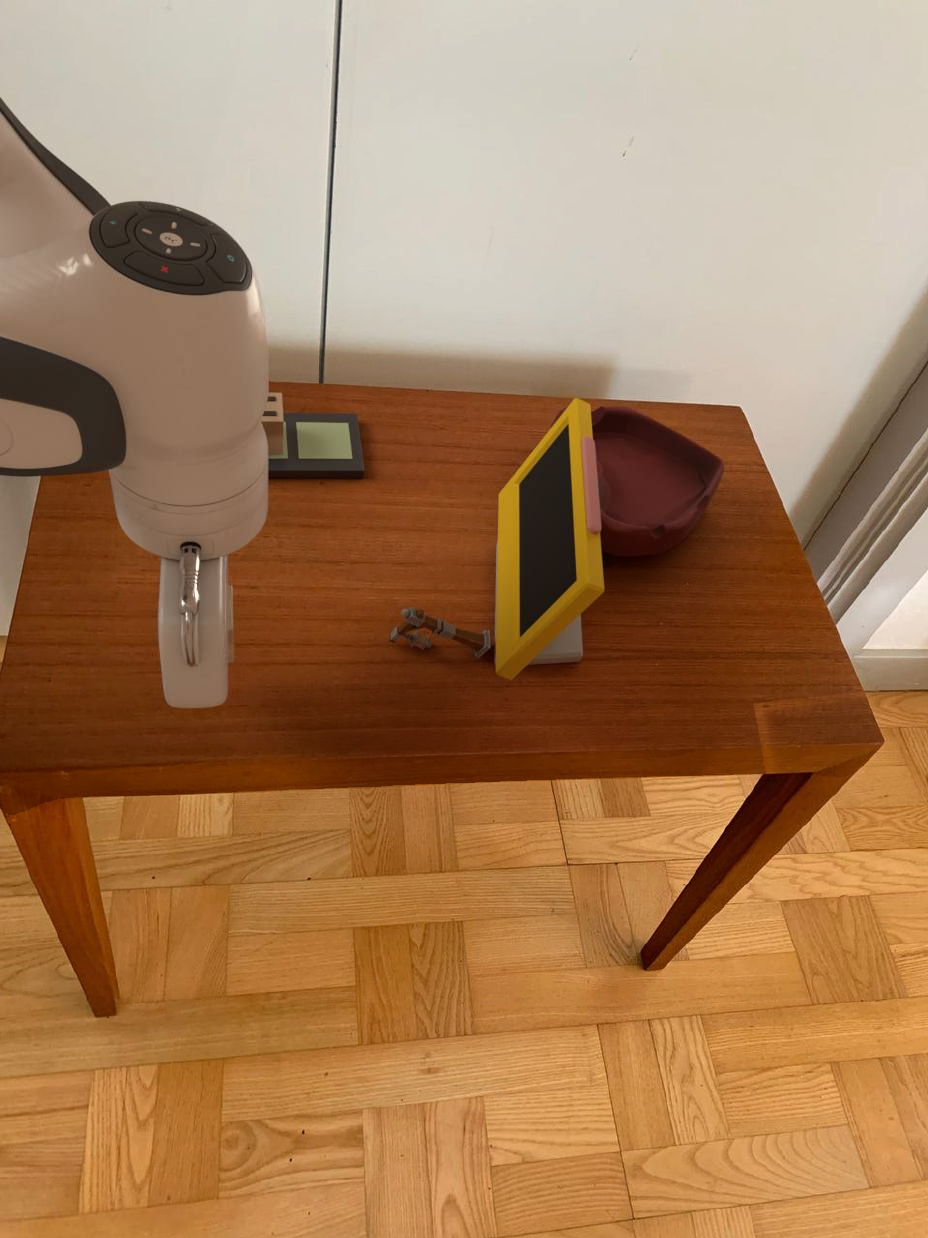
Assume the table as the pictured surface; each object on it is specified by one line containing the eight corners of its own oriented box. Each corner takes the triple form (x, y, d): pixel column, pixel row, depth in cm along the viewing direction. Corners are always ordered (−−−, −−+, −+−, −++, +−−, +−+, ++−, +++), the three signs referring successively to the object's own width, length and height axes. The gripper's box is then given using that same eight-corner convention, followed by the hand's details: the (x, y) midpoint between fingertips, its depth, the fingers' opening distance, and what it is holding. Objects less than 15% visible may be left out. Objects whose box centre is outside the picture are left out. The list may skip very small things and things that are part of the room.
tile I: (175, 665, 65) (170, 630, 62) (177, 619, 67) (172, 583, 64) (234, 663, 66) (232, 629, 63) (234, 618, 68) (232, 583, 65)
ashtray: (741, 564, 88) (763, 528, 85) (582, 574, 84) (596, 537, 81) (678, 436, 99) (695, 399, 95) (533, 440, 95) (544, 402, 91)
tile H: (239, 454, 85) (237, 419, 82) (239, 424, 88) (237, 390, 85) (283, 454, 86) (283, 420, 83) (282, 425, 89) (282, 391, 85)
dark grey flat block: (221, 478, 85) (221, 469, 84) (221, 419, 89) (221, 410, 89) (363, 478, 88) (364, 469, 87) (356, 421, 92) (357, 412, 91)
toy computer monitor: (491, 519, 87) (526, 385, 75) (573, 530, 88) (621, 399, 75) (487, 699, 75) (528, 574, 62) (582, 709, 75) (641, 588, 63)
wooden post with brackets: (379, 626, 76) (407, 597, 73) (461, 655, 80) (491, 628, 77) (378, 644, 75) (406, 615, 72) (461, 673, 79) (491, 646, 76)
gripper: (249, 627, 49) (251, 755, 60) (245, 378, 61) (247, 522, 72) (123, 629, 48) (149, 760, 59) (144, 374, 60) (162, 522, 70)
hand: (203, 627), depth 65 cm, fingers closed on tile I, 4 cm apart
